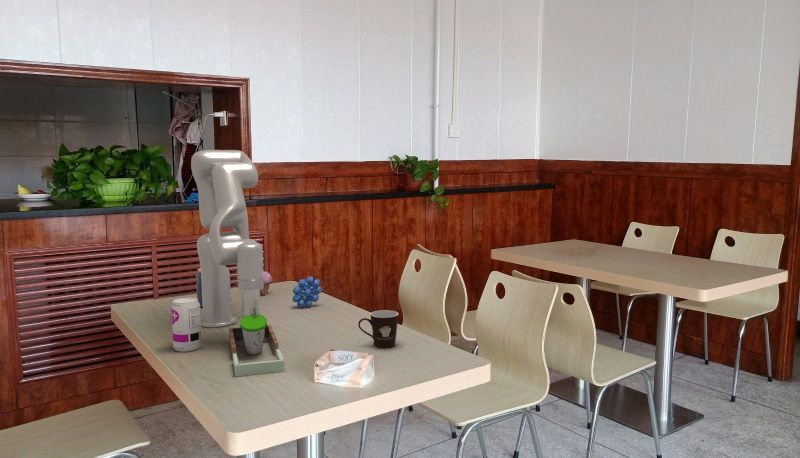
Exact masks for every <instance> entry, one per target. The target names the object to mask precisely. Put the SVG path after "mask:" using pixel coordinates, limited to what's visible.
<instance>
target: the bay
mask: <svg viewBox="0 0 800 458" xmlns="http://www.w3.org/2000/svg"><path fill="white" fill-rule="evenodd" d="M275 357H276V358H275V360H267V361H266V360H265V361H256V362H246V363H239V358H238V355H237V352H236V353H235V354H233V360H232V365H233V371H234V376H237V377H244V375H246V376H253V375H252V374H255V375H263V374H262V373H264V374H272V373H271V372H274V373H281V371H283V372H285V360H284V357H283V354H282V352H281V349H280V348H278V349H276V356H275Z"/></svg>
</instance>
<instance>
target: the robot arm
mask: <svg viewBox="0 0 800 458" xmlns="http://www.w3.org/2000/svg"><path fill="white" fill-rule="evenodd" d="M190 161H191V162H190V164H191V165H190V169H191V173H192V176H193V179H194V181H195V183H196V188H197V191H198V193H197V194H198V210H199V220H200V224H201V226H202V227H203V228H205V229H209V232H208V233H205V234H203V235H201V236H200V237H199V238H198V239H197V241H196V249H197V253H198V258H199V265H200V267H199V268H201V282H202V305H203V308H200V316H201V327H203V328H221V327H228V326H231V325H233V324H235V323H236V322H237V317H235V316H234V315H232V303H231V302H232V295H231V283H230V282H231V273H230V271H229V268H228V267H227V266H231V265H236V266H237V267H236V268H237V289H238V290H239V291H241V293H240V294H241V299H240V300H241V319H242V318H243V317H244V316H251V314H255V302H256V300H257V301H258V302H257V315H261V295H260V290H261V289H263V288H264V280H263V271H264V255H263V251H264V250H263V246H262V244H261V243H260V242H257V241H256V240H255V239H252V238H250V232H249V229H250V228H249V217H248V210H247V205H246V201H245V200H246V199H245V196H244V192H243V190H244V189H247V188H248V189H249V188H250V189H252V188H255V187H256V186H257V185H258V181H259V174H258V170H257V167H256V166H255V163H254V162H253V161H252V160H251V159H250V158H249V157H248V155H247V154H246V153H245V151H242V150H237V149H223V150H222V149H205V150H198V151H197V152H194V154H193V155H192V156H191V160H190ZM221 229H232V231H221Z"/></svg>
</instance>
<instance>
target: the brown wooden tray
mask: <svg viewBox="0 0 800 458" xmlns="http://www.w3.org/2000/svg"><path fill="white" fill-rule="evenodd" d="M273 329H274V328H273V327H272V325H271V324H267V326H266V327H265V333H264V340H263V344H268V343H269V344H270V346H271V349H272V352H273V355H274V357H276V349H279V342H278V339H277V336H276V334H275V332H274V330H273ZM228 338H229V339H228V341H229V347H230V352H231V359H232V361H233V354H235V353H237V347H238V346H245V342H244V336H243V331H242V328H241V327H240V326H239V327H229V328H228Z"/></svg>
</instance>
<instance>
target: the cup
mask: <svg viewBox="0 0 800 458" xmlns="http://www.w3.org/2000/svg"><path fill="white" fill-rule="evenodd" d="M257 302H258V301H257V300H256V302H255V314H251V316H244V317H243V318H242V317H241V319H240V320H239V327H241V328H242V331H243V336H244V342H245V345H244V346H245V352H246V353H247V354H248V355H250V356H257V355H259V354H261V352H263V345H264V343H263V340H264V333H265V327H266V326H267V325H268V320H267V317H265V316H264V315H263V314H260V315H257Z"/></svg>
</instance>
